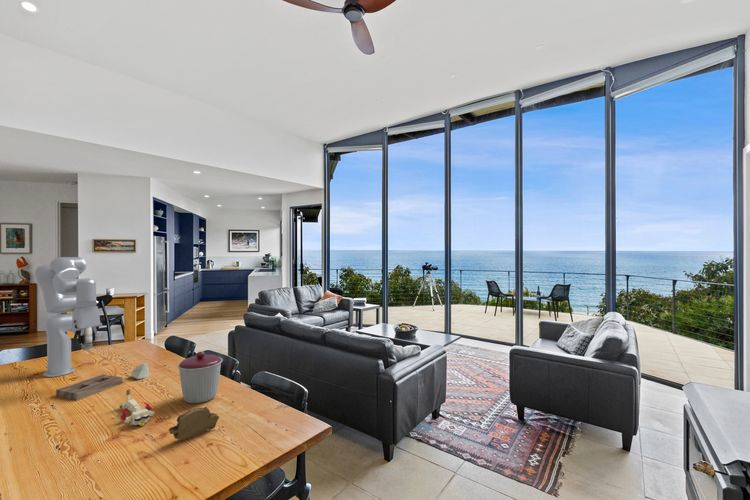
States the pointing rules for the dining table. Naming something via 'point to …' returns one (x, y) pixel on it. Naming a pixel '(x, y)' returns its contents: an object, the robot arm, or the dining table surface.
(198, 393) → the canister
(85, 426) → the dining table surface
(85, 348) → the grey domed cylinder
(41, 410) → the dining table surface
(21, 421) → the dining table surface
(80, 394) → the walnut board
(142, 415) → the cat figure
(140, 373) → the seashell
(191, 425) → the wooden carving
